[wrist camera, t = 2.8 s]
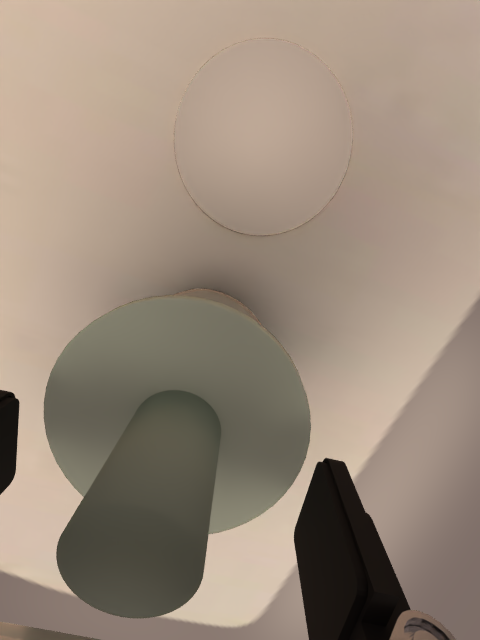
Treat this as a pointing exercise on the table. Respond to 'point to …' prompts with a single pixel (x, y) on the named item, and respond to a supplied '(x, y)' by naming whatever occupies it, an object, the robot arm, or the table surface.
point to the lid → (168, 444)
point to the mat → (263, 136)
